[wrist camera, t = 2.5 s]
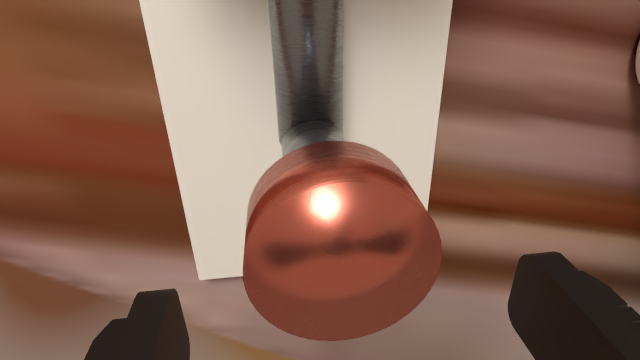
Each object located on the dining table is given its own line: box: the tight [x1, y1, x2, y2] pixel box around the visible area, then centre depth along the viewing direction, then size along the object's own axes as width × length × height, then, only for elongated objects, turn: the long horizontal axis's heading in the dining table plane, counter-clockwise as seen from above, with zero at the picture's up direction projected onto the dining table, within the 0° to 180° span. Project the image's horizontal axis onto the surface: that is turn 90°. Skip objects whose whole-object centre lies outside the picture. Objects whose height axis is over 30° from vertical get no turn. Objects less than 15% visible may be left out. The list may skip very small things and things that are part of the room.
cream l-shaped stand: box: [139, 0, 453, 280], centre depth 14 cm, size 26×13×9 cm, turn 1°
